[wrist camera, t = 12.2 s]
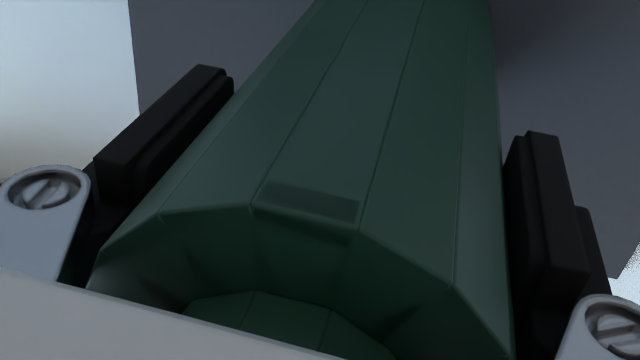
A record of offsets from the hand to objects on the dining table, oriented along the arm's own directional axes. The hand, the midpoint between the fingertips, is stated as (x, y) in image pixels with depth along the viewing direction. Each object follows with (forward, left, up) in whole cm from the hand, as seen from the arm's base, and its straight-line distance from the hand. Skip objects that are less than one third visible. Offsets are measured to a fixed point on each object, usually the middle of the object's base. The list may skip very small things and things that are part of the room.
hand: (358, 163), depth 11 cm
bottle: (0, 0, -8) cm, 8 cm away
